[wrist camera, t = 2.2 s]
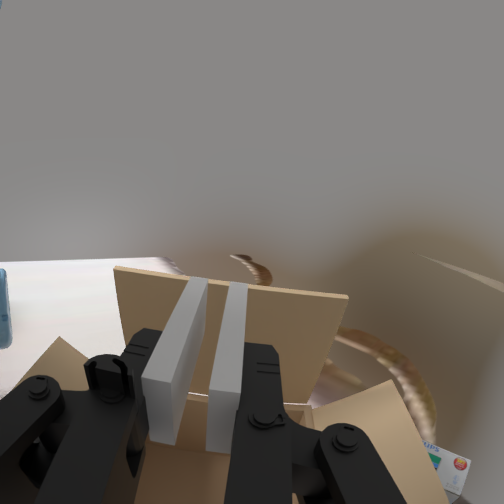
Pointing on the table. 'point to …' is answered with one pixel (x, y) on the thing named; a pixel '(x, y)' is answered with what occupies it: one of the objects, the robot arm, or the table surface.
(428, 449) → the light bulb box
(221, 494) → the carton
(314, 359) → the carton flap
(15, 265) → the table surface
